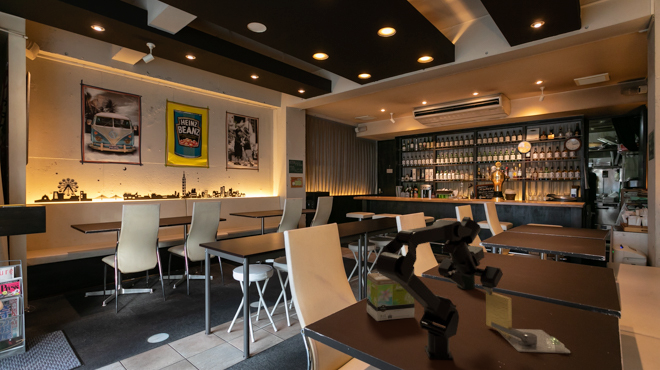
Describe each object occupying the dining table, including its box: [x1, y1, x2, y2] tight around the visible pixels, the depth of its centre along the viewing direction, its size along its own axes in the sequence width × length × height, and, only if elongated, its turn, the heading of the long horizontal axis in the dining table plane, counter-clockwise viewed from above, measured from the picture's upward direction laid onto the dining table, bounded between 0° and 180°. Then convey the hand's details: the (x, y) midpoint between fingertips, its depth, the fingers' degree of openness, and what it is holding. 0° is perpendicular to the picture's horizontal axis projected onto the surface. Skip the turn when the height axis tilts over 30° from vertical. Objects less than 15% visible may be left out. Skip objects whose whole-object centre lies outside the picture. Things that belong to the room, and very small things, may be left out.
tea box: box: [366, 272, 416, 322], centre depth 119 cm, size 15×10×15 cm, turn 106°
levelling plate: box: [496, 328, 571, 354], centre depth 98 cm, size 14×14×3 cm
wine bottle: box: [456, 244, 476, 291], centre depth 152 cm, size 8×10×30 cm
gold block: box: [485, 291, 537, 345], centre depth 101 cm, size 16×4×11 cm, turn 25°
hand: (476, 290), depth 103 cm, fingers open, 9 cm apart
